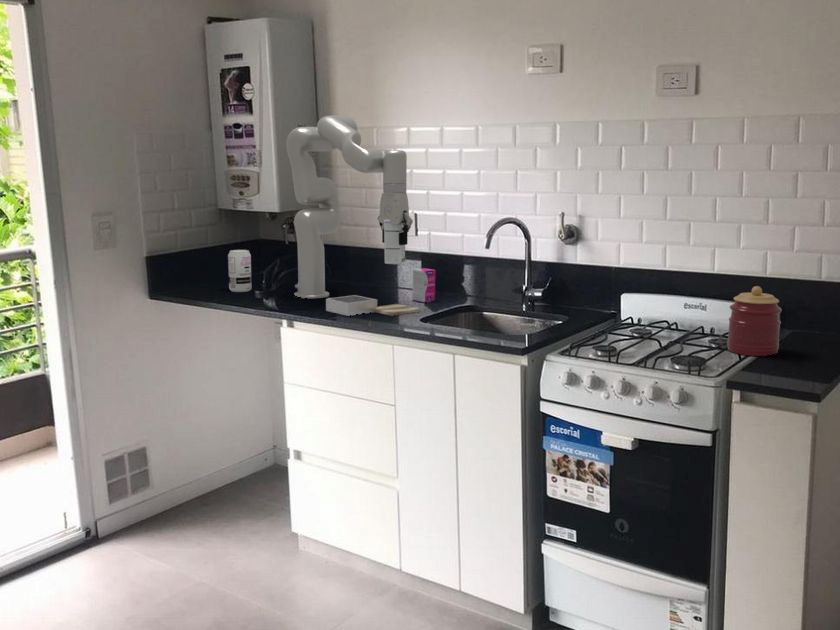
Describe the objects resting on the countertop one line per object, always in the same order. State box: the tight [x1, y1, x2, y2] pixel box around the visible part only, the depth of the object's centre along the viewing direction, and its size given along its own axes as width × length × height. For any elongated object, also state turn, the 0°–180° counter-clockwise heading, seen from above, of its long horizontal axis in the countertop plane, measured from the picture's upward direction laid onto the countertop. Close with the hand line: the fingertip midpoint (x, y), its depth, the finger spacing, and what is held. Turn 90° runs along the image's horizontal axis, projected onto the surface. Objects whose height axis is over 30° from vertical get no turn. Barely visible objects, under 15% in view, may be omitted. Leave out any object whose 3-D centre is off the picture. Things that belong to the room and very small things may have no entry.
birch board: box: [374, 303, 421, 317], centre depth 293 cm, size 12×12×1 cm
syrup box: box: [383, 219, 406, 265], centre depth 289 cm, size 6×6×14 cm
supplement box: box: [412, 267, 437, 304], centre depth 311 cm, size 6×6×12 cm
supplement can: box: [227, 249, 253, 293], centre depth 332 cm, size 8×8×15 cm
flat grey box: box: [325, 294, 378, 317], centre depth 295 cm, size 19×12×4 cm, turn 41°
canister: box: [726, 285, 783, 357], centre depth 235 cm, size 13×13×18 cm
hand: (394, 243), depth 289 cm, fingers closed on syrup box, 7 cm apart
